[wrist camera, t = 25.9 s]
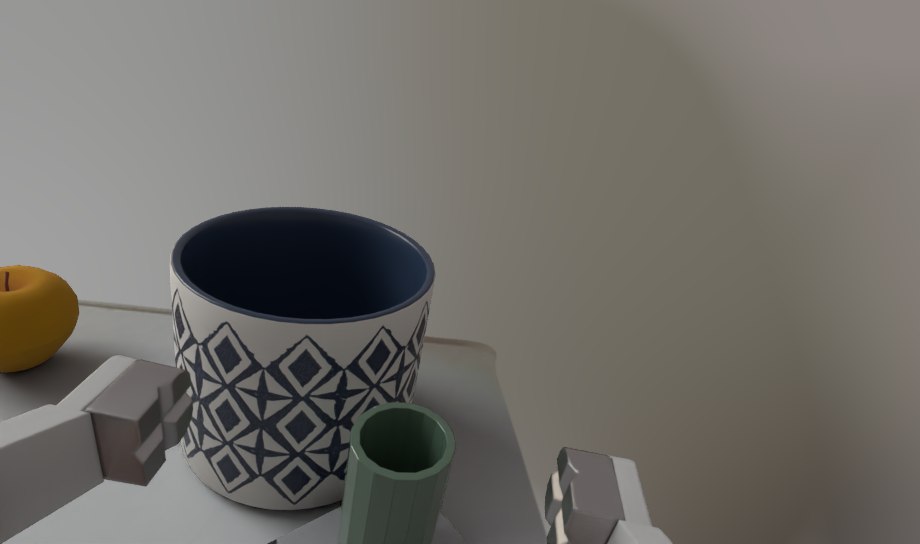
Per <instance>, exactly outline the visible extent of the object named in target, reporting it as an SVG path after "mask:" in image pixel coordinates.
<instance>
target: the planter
mask: <svg viewBox="0 0 920 544" xmlns="http://www.w3.org/2000/svg"><path fill="white" fill-rule="evenodd" d="M170 280H171V297H172V298H171V299H172V314H173V330H174V346H175V361H176V368H179V369H184V370H186V371H188V372H190V376H191V384H192V385H191V386H190V387H189V388H188V390H187V391H186V393H187V394H188V395H189V396H190V398H191V399H192V400H193V414H192V420H191V422H190V424H189V427H188V429H187V432H186V434H185V435H184V436H183V438H182V439H181V444H182V448H183V452H184V456H185V458H186V460H187V462H188V464H189V466H190V467H191V469H192V471H193V472H194V473H195V474H196V475H197V476H198V477H199V479H200V480H201V481H202V482H203V483H205V484H206V485H207V486H209V487H210V488H211V489H213V490H214V491H215V492H217V493H219V494H221V495H223V496H225V497H227V498H229V499H231V500H233V501H236V502H239V503H243V504H246V505H249V506H253V507H259V508H265V509H271V510H298V509H308V508H315V507H319V506H323V505H328V504H332V503H335V502H337V501H340V500H342V498H343V490H344V482H345V473H346V465H347V457H348V449H349V441H350V433H351V429H352V427H353V425H354V424H355V422H356V421H357V419H358V417H359V416H360V415H362V414H363V413H365V412H366V411H368V410H369V409H371V408H372V407H374V406H378V405H382V404H386V403H390V402H391V403H392V402H401V403H412V401H413V396H414V390H415V385H416V380H417V374H418V369H419V364H420V358H421V353H422V347H423V342H424V336H425V331H426V325H427V320H428V314H429V309H430V304H431V298H432V292H433V286H434V280H435V269H434V264H433V262H432V260H431V258H430V256H429V254H428V253H427V252H426V251H425V250H424V248H423V247H422V246H420V245H419V244H418V243H417V242H416V241H415V240H413V239H412V238H410V237H409V236H407V235H406V234H404V233H402V232H400V231H398V230H396V229H394V228H392V227H390V226H388V225H385V224H383V223H380V222H377V221H374V220H371V219H368V218H365V217H361V216H357V215H353V214H349V213H344V212H339V211H333V210H325V209H317V208H304V207H271V208H259V209H250V210H245V211H238V212H233V213H230V214H225V215H221V216H218V217H216V218H213V219H210V220H207V221H205V222H203V223H201V224H199V225H197V226H195V227H193V228H191V229H190V230H189V231H188V232H186V233H185V234H183V235H182V236H181V237H180V239H179V240H178V241H177V242H176V243H175V245H174V247H173V249H172V252H171V254H170Z"/></svg>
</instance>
